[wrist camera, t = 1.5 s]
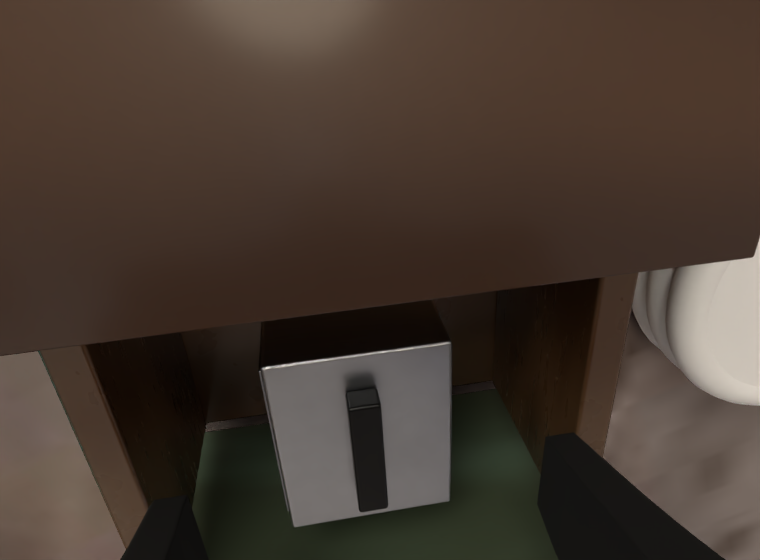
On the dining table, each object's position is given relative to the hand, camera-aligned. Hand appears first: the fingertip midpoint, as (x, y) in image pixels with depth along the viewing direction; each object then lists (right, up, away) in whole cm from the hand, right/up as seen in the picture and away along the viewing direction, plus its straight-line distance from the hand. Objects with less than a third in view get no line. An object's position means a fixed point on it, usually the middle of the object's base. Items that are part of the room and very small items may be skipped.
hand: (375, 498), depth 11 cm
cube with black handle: (-1, +3, +6) cm, 6 cm away
